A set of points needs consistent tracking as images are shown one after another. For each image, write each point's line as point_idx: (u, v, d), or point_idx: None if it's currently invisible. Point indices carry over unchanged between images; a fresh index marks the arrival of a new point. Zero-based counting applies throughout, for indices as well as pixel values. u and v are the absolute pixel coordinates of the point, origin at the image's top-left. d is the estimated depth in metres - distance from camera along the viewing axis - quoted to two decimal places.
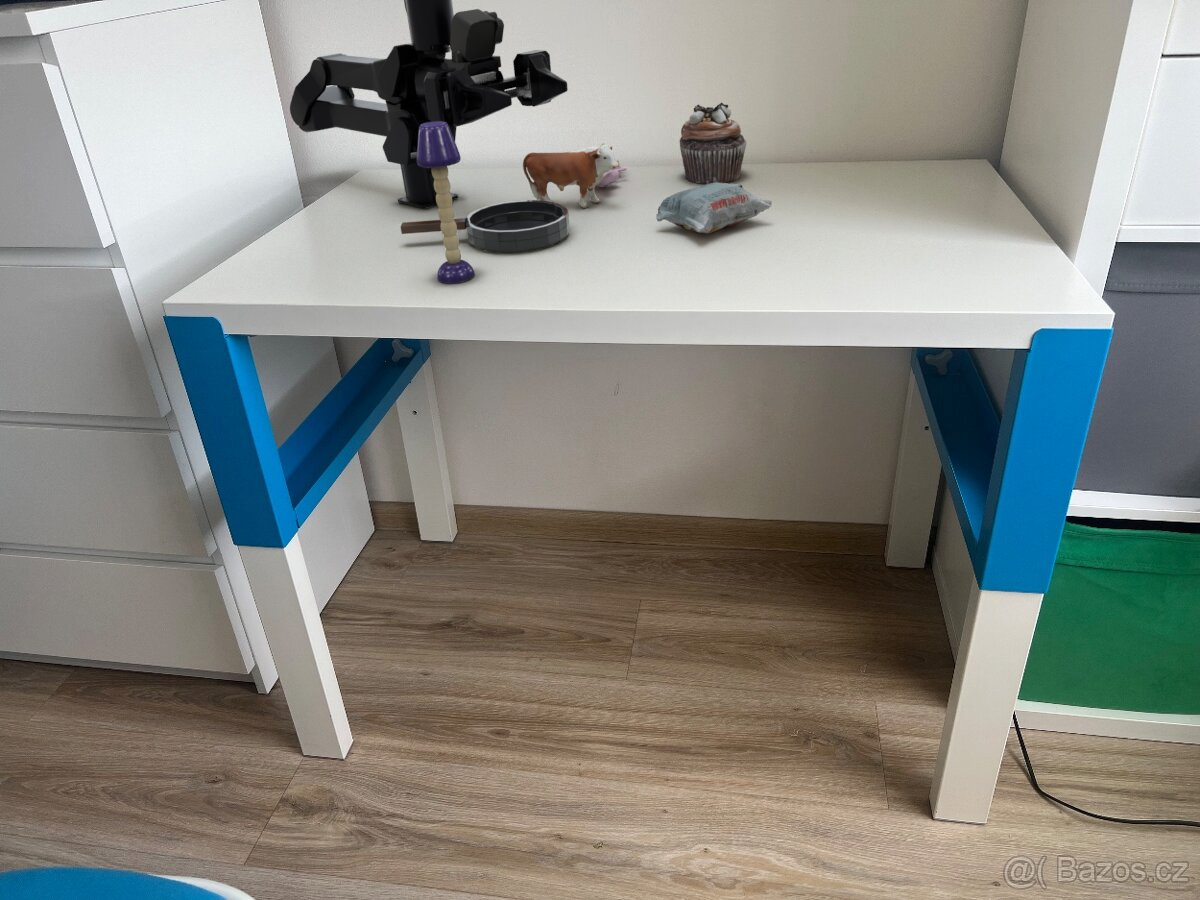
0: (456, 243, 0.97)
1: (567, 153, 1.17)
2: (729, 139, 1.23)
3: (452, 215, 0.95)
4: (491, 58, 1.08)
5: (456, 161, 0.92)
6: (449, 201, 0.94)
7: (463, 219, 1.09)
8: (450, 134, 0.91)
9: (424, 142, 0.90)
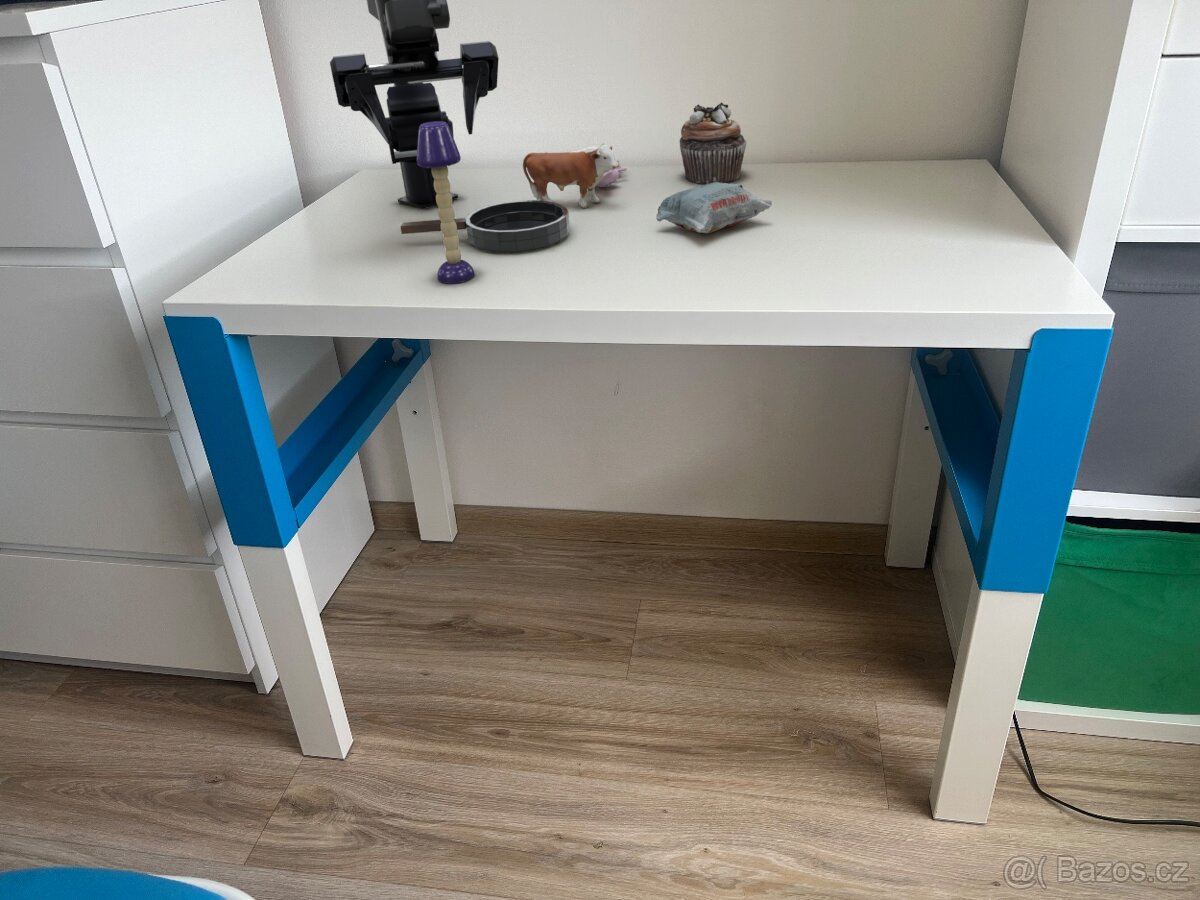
0: (456, 243, 0.97)
1: (567, 153, 1.17)
2: (729, 139, 1.23)
3: (452, 215, 0.95)
4: (428, 42, 0.99)
5: (456, 161, 0.92)
6: (449, 201, 0.94)
7: (463, 219, 1.09)
8: (450, 134, 0.91)
9: (424, 142, 0.90)
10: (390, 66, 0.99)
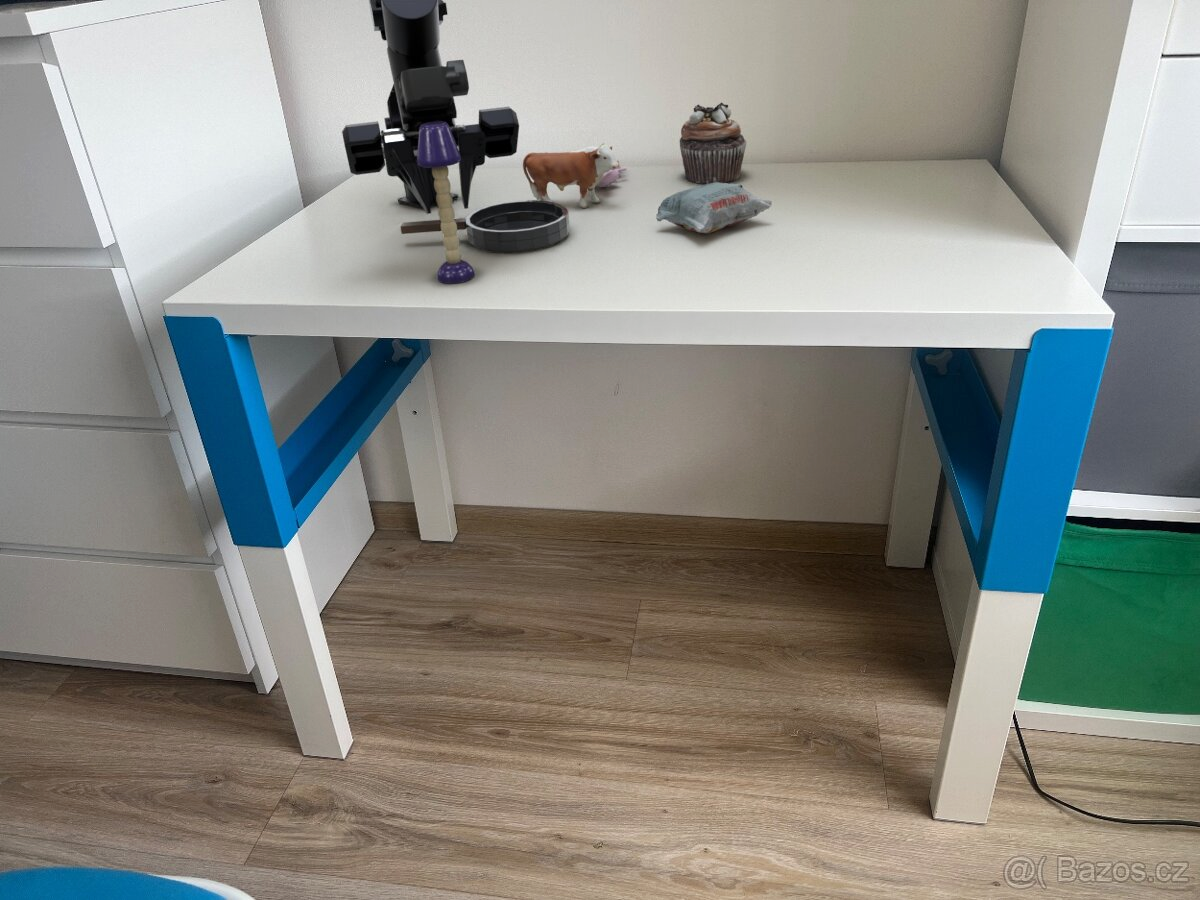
0: (456, 243, 0.97)
1: (567, 153, 1.17)
2: (729, 139, 1.23)
3: (452, 215, 0.95)
4: (446, 109, 0.94)
5: (456, 161, 0.92)
6: (449, 201, 0.94)
7: (463, 219, 1.09)
8: (451, 134, 0.91)
9: (424, 142, 0.90)
10: None
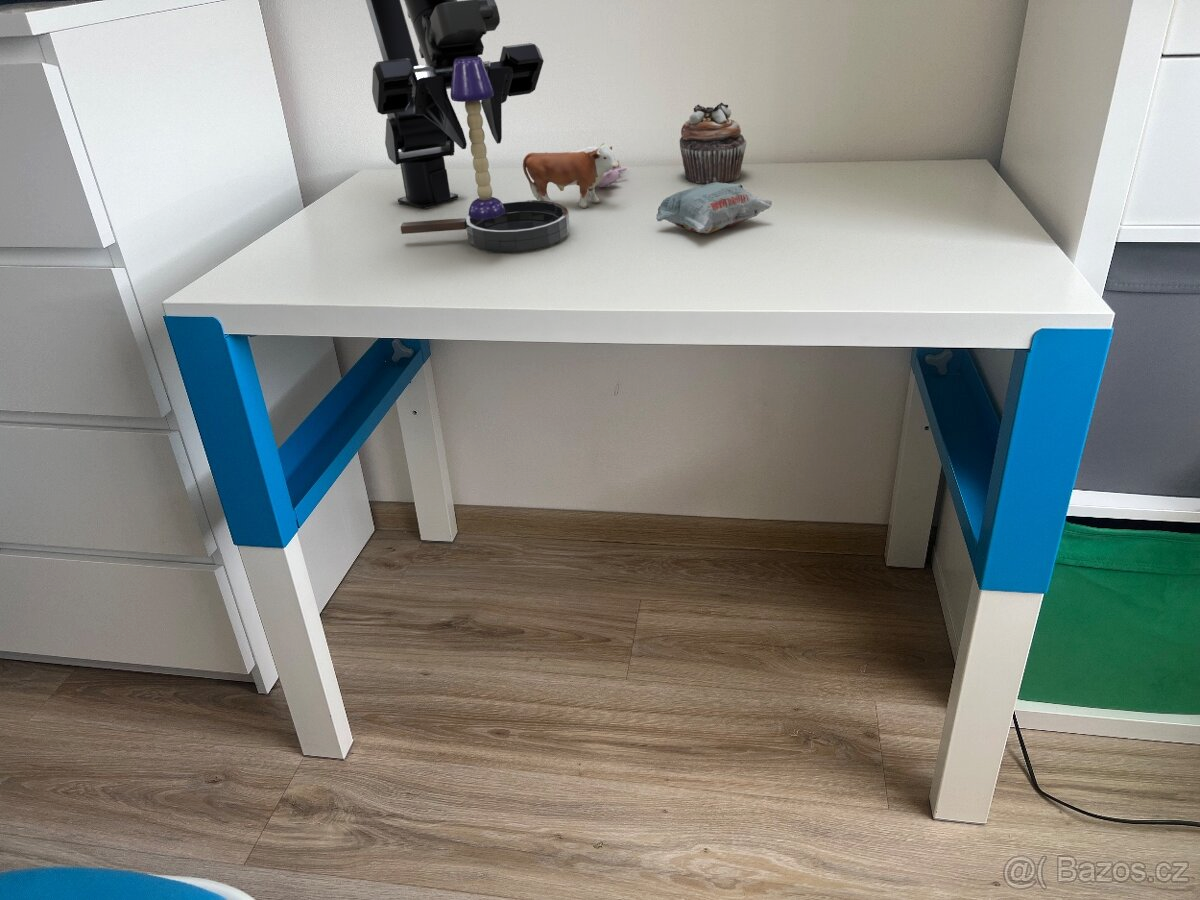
0: (489, 179, 0.98)
1: (567, 153, 1.17)
2: (729, 139, 1.23)
3: (485, 150, 0.97)
4: (473, 45, 0.95)
5: (491, 95, 0.94)
6: (482, 136, 0.96)
7: (463, 219, 1.09)
8: None
9: (461, 76, 0.92)
10: None
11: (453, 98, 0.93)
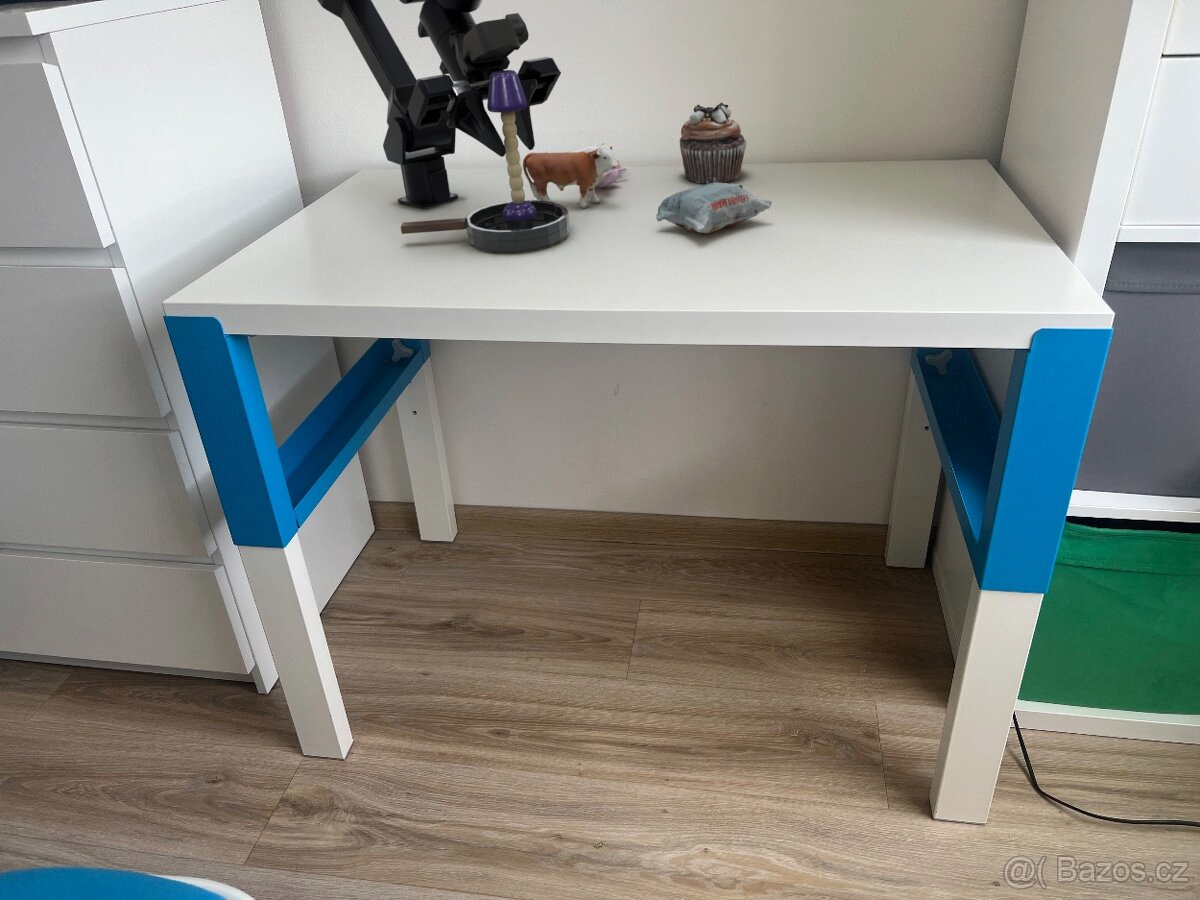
0: (522, 183, 1.06)
1: (567, 153, 1.17)
2: (729, 139, 1.23)
3: (519, 157, 1.04)
4: (500, 60, 1.02)
5: (526, 105, 1.01)
6: (517, 144, 1.03)
7: (463, 219, 1.09)
8: None
9: (501, 89, 0.99)
10: (487, 82, 1.03)
11: (492, 109, 1.00)
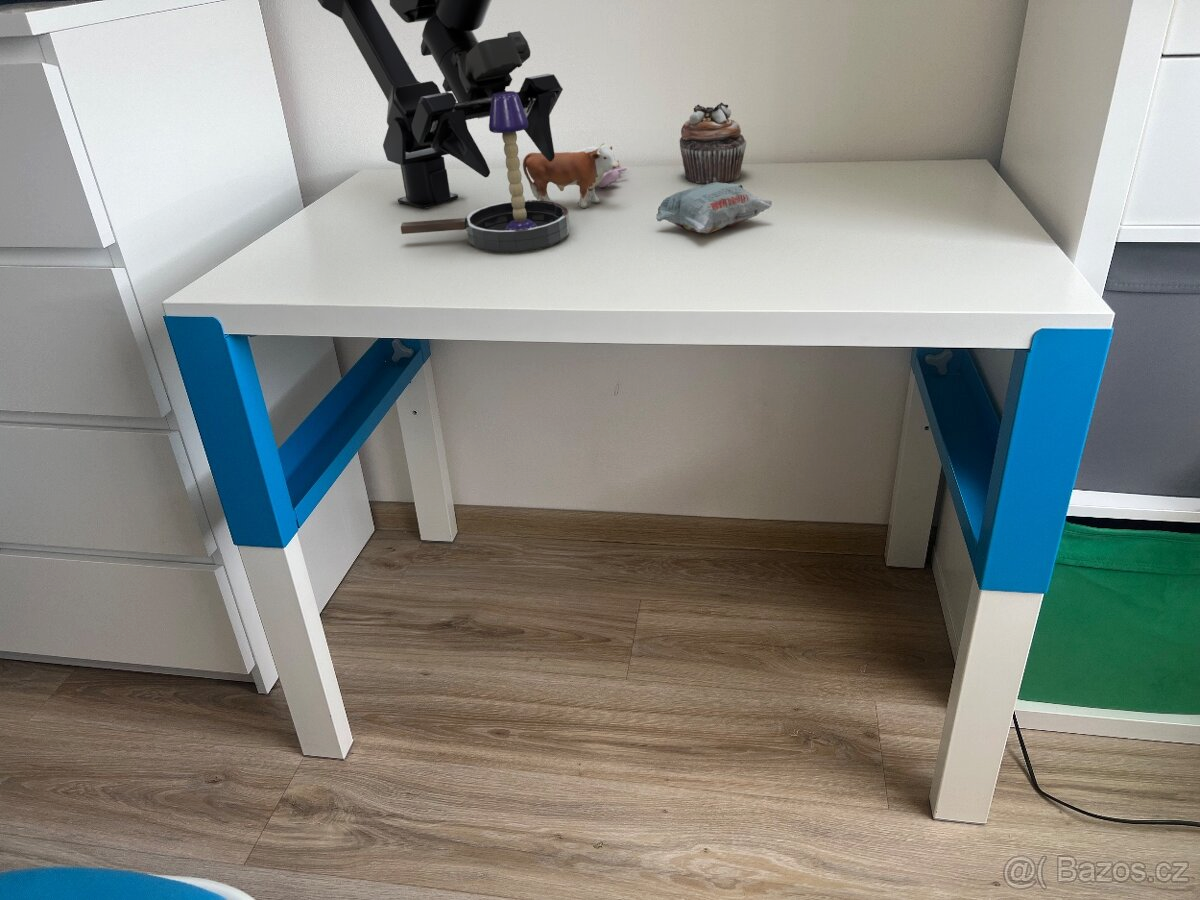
0: (524, 202, 1.07)
1: (567, 153, 1.17)
2: (729, 139, 1.23)
3: (521, 176, 1.06)
4: (502, 77, 1.03)
5: None
6: (519, 163, 1.05)
7: (463, 219, 1.09)
8: (520, 101, 1.02)
9: (503, 110, 1.00)
10: (471, 103, 1.02)
11: (494, 130, 1.01)
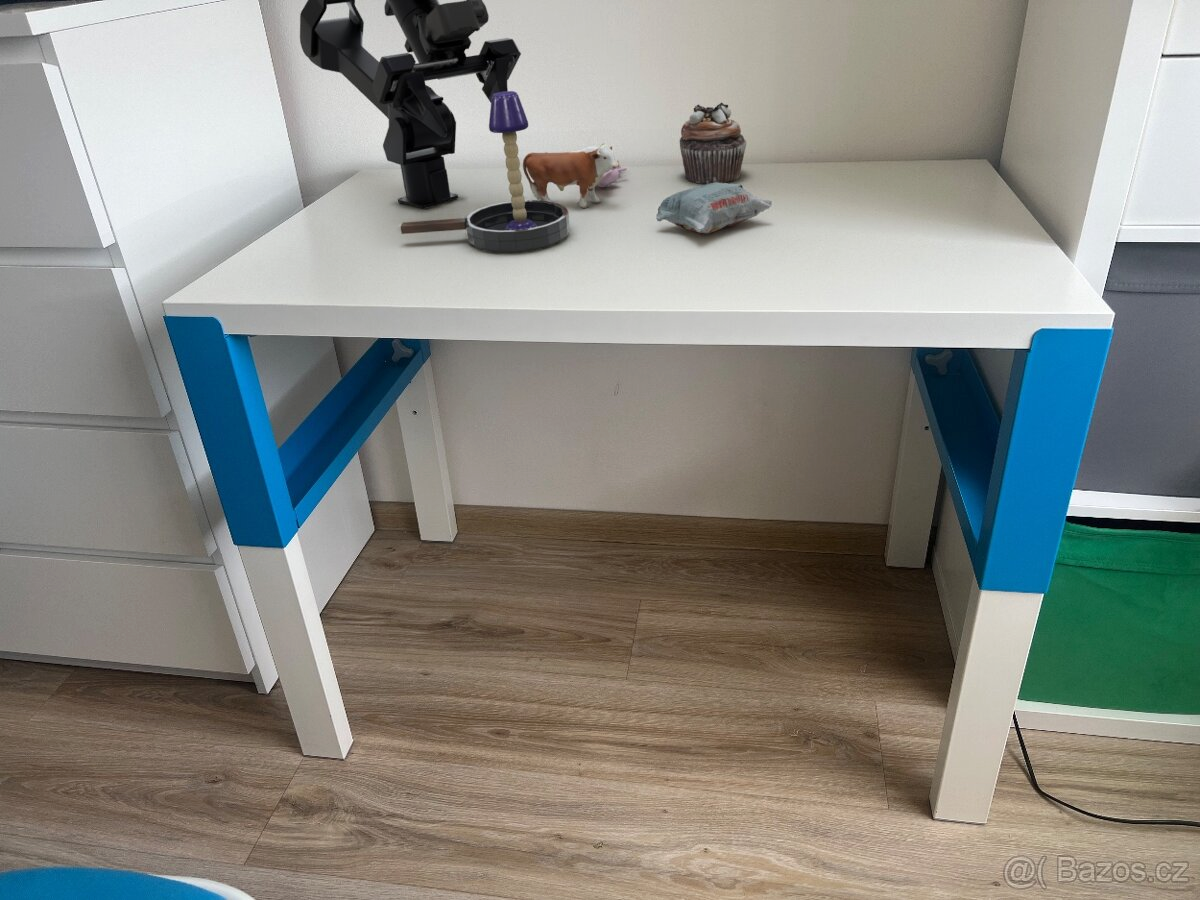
0: (524, 202, 1.07)
1: (567, 153, 1.17)
2: (729, 139, 1.23)
3: (521, 176, 1.06)
4: (462, 40, 1.07)
5: None
6: (519, 163, 1.05)
7: (463, 219, 1.09)
8: (520, 101, 1.02)
9: (503, 110, 1.00)
10: (430, 64, 1.06)
11: (494, 130, 1.01)
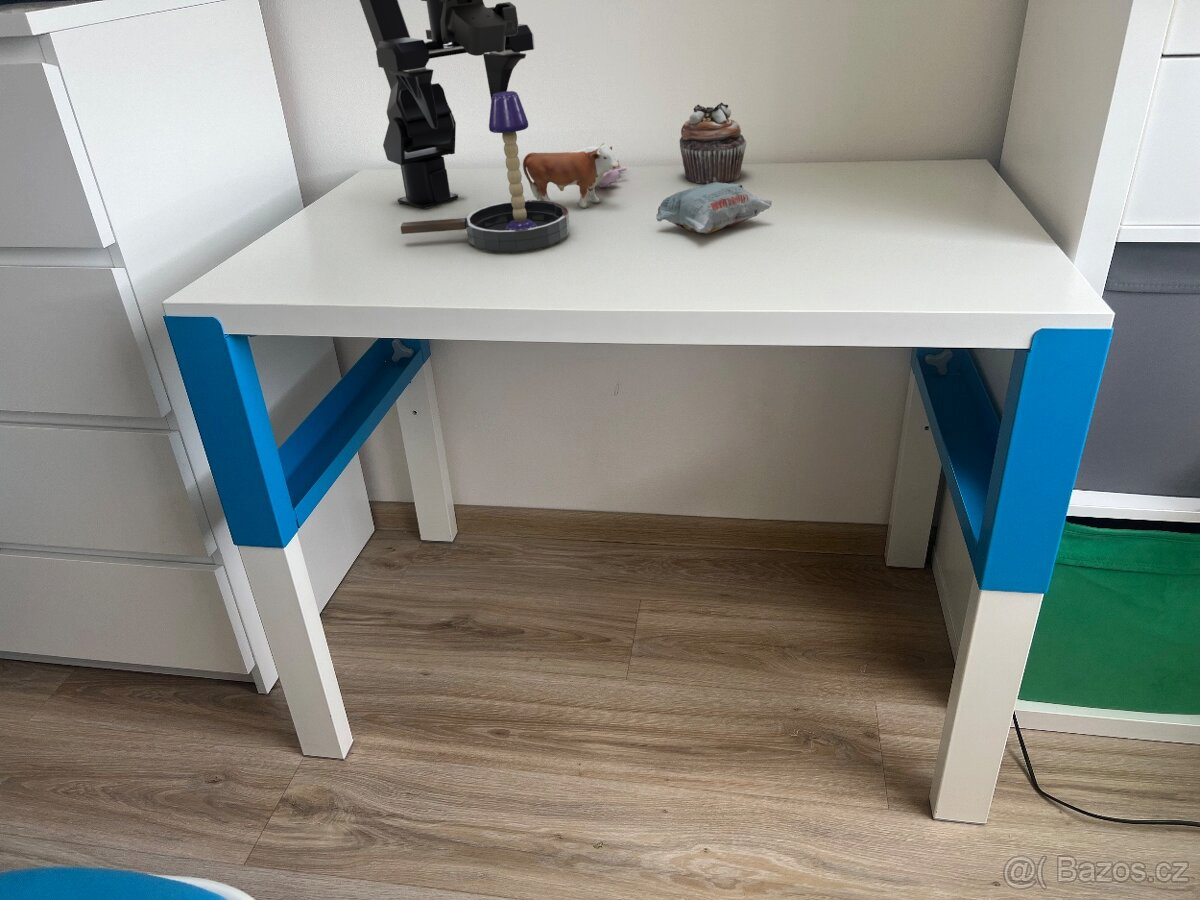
0: (524, 202, 1.07)
1: (567, 153, 1.17)
2: (729, 139, 1.23)
3: (521, 176, 1.06)
4: None
5: None
6: (519, 163, 1.05)
7: (463, 219, 1.09)
8: (520, 101, 1.02)
9: (503, 110, 1.00)
10: None
11: (494, 130, 1.01)
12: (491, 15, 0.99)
